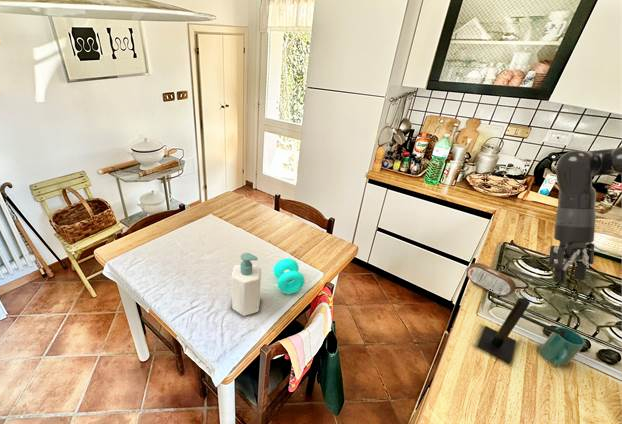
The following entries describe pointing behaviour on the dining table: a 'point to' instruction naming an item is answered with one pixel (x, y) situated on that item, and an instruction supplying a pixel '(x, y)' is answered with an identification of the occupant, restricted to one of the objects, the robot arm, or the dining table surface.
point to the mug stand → (500, 341)
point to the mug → (562, 347)
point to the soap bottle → (246, 286)
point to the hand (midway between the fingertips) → (569, 280)
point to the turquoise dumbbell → (288, 276)
